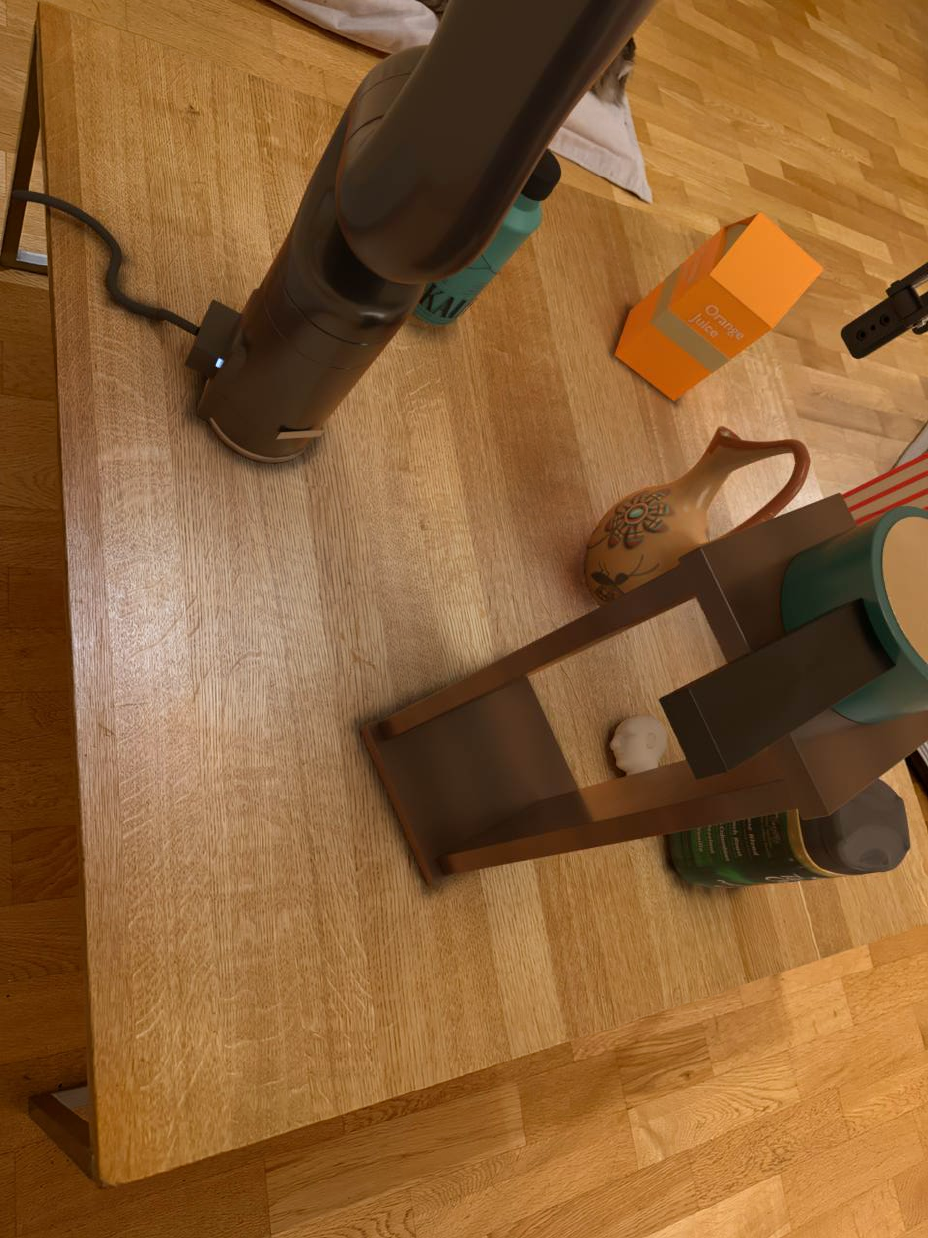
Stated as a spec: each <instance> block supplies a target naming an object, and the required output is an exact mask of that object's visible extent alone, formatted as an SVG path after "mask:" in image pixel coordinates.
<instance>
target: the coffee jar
mask: <svg viewBox="0 0 928 1238" xmlns="http://www.w3.org/2000/svg"><path fill="white" fill-rule="evenodd" d="M668 844H669V852H670V856H671V859H672V863H673V865H674V868H675V870H676V872H677V873H678V875H679V876H680V878H682V879H683V880H684V881H685V882H687V883H688V884H691V885H694V886H696V887H697V886H698V887H702V888H708V889H733V888H743V887H753V886H761V885H762V886H763V885H764V886H765V885H775V884H787V883H788V884H789V883H796V882H797V883H798V882H808V881H817V880H818V881H819V880H826V879H827V880H828V879H836V878H837V879H838V878H846V877H857V876H863V875H869V874H876V873H886V872H891V871H893V870H895V869H896V868H898V866H900V865H901V863H902V862H903V860H904V859H905V857H906V856H907V853H908V852H909V851H910V850H911V846H912V845H911V838H910V827H909V822H908V816H907V809H906V805H905V802H904V799H903V797H901V796H900V795H898V793H897V792H896V790H894V789H893V788H892V787H891V786H890V785H889V784H888V783H887V782H886V781H883V780H882V779H881V778H878V779H877V780H875V781H874V782H873V783H872V784H870V785H869V786H868V787H866V788H865V789H864V790H862V791H861V792H860V793H858V794H857V795H856V796H854V797H853V798H852V799H850V800H849V801H848V802H846V803H845V804H844V805H842V806H841V807H840V808H838V809H837V810H836V811H835V812H833V813H832V814H831V815H829V816H824V817H818V818H813V819H807V820H803V819H802V817H801V815H800V813H799V811H798V809H796V810H791V811H785V812H780V813H775V814H770V815H764V816H759V817H754V818H749V819H743V820H738V821H733V822H727V823H722V824H717V825H712V826H706V827H701V828H696V829H690V830H685V831H680V832H675V833H669V834H668Z"/></svg>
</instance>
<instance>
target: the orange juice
mask: <svg viewBox="0 0 928 1238" xmlns="http://www.w3.org/2000/svg"><path fill="white" fill-rule="evenodd" d="M824 270H825V268H824V267H823V266H821V265H820V263H818V262H817V261H816V260H815V259H814V258H812V257H811V255H810V254H808V252H806V251H805V250H804V249H803V248H802V247H800V246H799V245H798V244H797V243H796V242H795V241H794V240H793V239H792V238H790V237H789V236H788V234H786V233H785V232H784V231H783V230H782V229H780V228H779V227H778V226H777V225H776V224H775V223H774V222H772V220H770V219H769V218H768V217H767V216H766V215H765V214H763V212H761V211H759V212H758V213H756V214H753V215H751V216H748V217H745V218H743V219H741V220H737V221H735V222H733V223H730V224H729V225H726V226H725V225H724V226H721V228H720V229H719V230H717V232H715V233H714V234H713V235H712V236H711V237H710V238H709V239H708V240H706V242H704V244H702V245H701V246H700V247H699V248H698V249H697V250H695V252H693V253H692V254H691V255H690V256H689V257H687V258H686V259H685V260H684V261H683V262H681V264H679V265H678V266H677V267H676V268H675V269H673V271H671V272H670V273H669V274H668V275H667V276H666V277H665V278H664V279H663V280H662V281H661V282H660V283H659V284H658V285H657V286H655V287H654V289H653V290H651V291H650V292H649V293H648V294H647V295H645V297H643V299H641V300H640V301H639V302H638V303H637V304H635V305H634V306H633V308H631V309H630V310H629V312H628V315H627V319H626V321H625V324H624V326H623V330H622V332H621V335H620V338H619V341H618V344H617V347H616V349H615V352H614V356H615V357H617V359H619V360H620V361H621V362H623V363H624V364H625V365H627V367H629V368H630V369H632V370H633V371H634V372H635V373H637V374H638V375H640V377H642V378H643V379H645V380H646V381H647V382H648V383H650V384H651V385H652V386H653V387H655V388H656V389H657V390H658V391H660V392H661V393H662V394H664V395H665V396H666V397H667V398H669V399H670V400H672V401H673V402H675V401H677V399H679V398H681V397H682V396H683V395H685V394H686V393H688V392H689V391H690V390H692V389H693V388H695V386H696V385H698V384H699V383H701V382H702V381H704V380H705V379H706V378H708V377H709V376H710V375H712V374H714V373H715V372H717V371H719V370H720V369H721V368H723V367H724V366H725V365H727V364H728V363H729V362H730V361H731V360H732V359H733V358H735V357H736V356H738V355H739V354H741V353H742V352H743V351H744V350H746V349H747V348H748V347H750V346H751V345H752V344H754V343H755V342H756V341H758V340H759V339H761V338H762V337H763V336H765V335H766V334H768V333H769V332H770V331H772V330H773V329H774V328H775V327H776V325H777V324H778V323H779V322H780V321H781V320H782V318H783V317H784V316H785V315H786V314H787V313H788V311H789V310H790V309H791V308H792V307H793V306H794V305H795V304H796V302H797V301H798V300H799V299H800V297H802V295H803V294H804V293H805V292H806V290H808V288H809V287H810V286H811V285H812V283H814V282H815V280H816V279H817V278H818V276H819V275H820V274H821V273H822V272H823V271H824Z"/></svg>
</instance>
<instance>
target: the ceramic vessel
mask: <svg viewBox="0 0 928 1238" xmlns="http://www.w3.org/2000/svg"><path fill="white" fill-rule="evenodd" d="M786 454H792V455H793V460H794V464H793V465H794V466H793V469H792V472H791V474H790V477H789V479H788V481H787V482H786V484H785V485H784V486H783V487H782V488H781V489H780V491H778V493H777V494H776V495H775V496H773V497H772V498H771V499H770V500H769V501H768V502H767V503H766V504H764V505H763V506H762V507H760V509H759V510H757V511H756V512H755V513H754V514H752V515H751V516H750V517H748V518H747V519H746V520H743V522H741V523H740V524H738V525H737V526H735V527H734V528H732V529H731V530H729V531H726V532H725V533H724V534H721V535H720V536H717V537H716V538H714V539H711V527H710V523H709V519H708V515H709V510H710V507H711V505H712V504H713V503H712V502H713V501H714V499H715V497H716V495H717V494H718V492H719V491H720V489H721V488H722V487H723V485H724V484H725V482H726V481H727V480H728V478H729V477H731V474H732V473H733V472H735V471H737V470H739V469H741V468H744V467H746V466H748V465H751V464H752V465H753V464H755V463H757V462H759V461H763V460H765V459H769V458H773V457H776V456H780V455H786ZM811 463H812V460H811V456H810V452H809V449H808V448H807V446H806V444H804V442H803V441H801V440H799V439H795V438H786V439H778V440H768V441H759V440H757V441H756V440H745V439H742V438H741V436H739V435H738V434H737V433H735V432H734V431H732V430H731V429H730V428H727V427H726V426H723V425H719V426H718V427H717V429H716V430H715V432H714V434H713V436H712V438H711V440H710V442H709V444H708V446H707V447H706V449H705V451H704V452H703V453H702V455H701V457H700V458H699V460H698V461H697V462H696V463H695V464H694V466H692V467H691V468H690V469H689V470H688V471H687V472H686V473H684V474H683V475H682V476H680V477H678V478H677V479H675V480H673V481H670V482H667V483H664V484H663V483H662V484H656V485H650V486H646V487H642V488H639V489H637V490H635V491H631V492H630V493H629V494H627V495H625V496H624V497H621V499H619V500H618V501H617V502H615V503H614V504H613V505H612V506H611V507H609V508H608V510H607V511H606V512H605V513H604V514H603V515H602V516H601V518H600V519H599V520H598V522H597V523H596V525H595V527H594V528H593V530H592V532H591V534H590V537H589V539H588V540H587V544H586V547H585V551H584V557H583V577H584V578H583V579H584V582H585V586H586V588H587V591H588V593H589V595H590V597H591V599H592V600H593V601H594V603H596V604H597V606H598V607H600V606H602V605H604V604H606V603H608V602H610V601H612V600H614V599H616V598H618V597H619V596H621V595H623V594H625V593H627V592H629V591H631V590H633V589H635V588H637V587H639V586H640V585H642V584H644V583H646V582H648V581H650V580H652V579H654V578H656V577H658V576H660V575H661V574H663V573H665V572H667V571H669V570H671V569H673V568H675V567H677V566H679V565H680V563H679V561H678V558H679V557H681V556H683V555H685V554H686V553H688V552H690V551H692V550H694V549H696V548H698V547H700V546H702V545H705V544H708V543H710V542H713V541H715V540H718V539H720V538H723V537H726V536H728V535H731V534H733V533H736V532H739V531H741V530H744V529H746V528H749V527H752V526H754V525H757V524H759V523H762V522H764V521H767V520H770V519H772V518H775V517H777V516H778V515H779V513H780V512H782V511H783V510H784V509H785V508H786V507H787V506H788V505H789V504H790V503H791V502H792V501H793V500H794V499H795V498H796V496H797V495H798V494H799V493H800V491H801V490H802V489H803V486H804V485H805V483H806V481H807V477H808V474H809V471H810V468H811V467H810V466H811Z"/></svg>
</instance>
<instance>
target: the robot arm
mask: <svg viewBox="0 0 928 1238" xmlns="http://www.w3.org/2000/svg"><path fill="white" fill-rule="evenodd" d="M660 1H661V0H448V1H447V3H446V6H445V8H444V11H443V14H442V16H441V19H440V21H439V23H438V25H437V27H436V29H435V30H434V34H433V35H432V37H431V40H430V42H429V43H428V44H418V45H413V46H408V47H405V48H403V49H399V50H397V51H395V52H393V53H391V54H389V55H388V56H386V57H385V58H383V59H382V60H380V62H378V63H376V65H375V66H374V67H372V68H371V69H370V70H369V71H368V73H367V74H366V75H365V76H364V78H363V79H362V81H361V82H360V83H359V85H358V87H357V88H356V90H355V91H354V93H353V95H352V96H351V98H350V100H349V102H348V104H347V106H346V108H345V110H344V112H343V114H342V116H341V117H340V119H339V121H338V123H337V126H336V127H335V130H334V132H333V133H332V135H331V138H330V139H329V141H328V144H327V145H326V147H325V149H324V151H323V153H322V155H321V157H320V160H319V161H318V164H317V165H316V168H315V169H314V171H313V172H312V175H311V177H310V179H309V181H308V184H307V186H306V188H305V190H304V193H303V195H302V198H301V200H300V203H299V206H298V208H297V210H296V214H295V217H294V218H293V222H292V224H291V226H290V229H289V230H288V233H287V235H286V237H285V239H284V240H283V242H282V244H281V246H280V248H279V249H278V251H277V252H276V255H275V257H274V259H273V260H272V263H271V264H270V267H269V268H268V269H267V272H266V273H265V276H264V277H263V279H262V280H261V283H260V284H259V287H257V288H254V289H253V290H252V291H251V294H250V295H249V297H248V299H247V301H246V303H245V305H244V307H243V308H242V310H241V312H239V311H237V310H235V309H233V308H231V307H230V306H227V305H225V304H223V303H222V302H220V301H218V300H216V299H215V298H214V299H212V300H211V301H210V304H209V305H208V307H207V309H206V312H205V314H204V316H203V318H202V320H201V323H200V325H197V324H195V323H193V322H191V321H189V320H188V319H186V318H184V317H183V316H180V315H179V314H176V313H175V312H173V311H171V310H168V309H166V308H156V307H153V306H149V305H146V304H143V303H140V302H137V301H136V300H133V299H132V298H130V297H128V296H126V295H125V294H124V293H123V292H122V291H121V290H120V288H119V285H118V275H119V272H120V269H121V266H122V263H123V262H122V261H123V252H122V249H121V246H120V244H119V243H118V241H117V240H116V238H115V237H114V236H113V235H112V233H111V232H110V231H109V230H108V229H107V228H106V227H105V226H104V225H103V224H102V223H101V222H100V221H98V220H97V219H96V218H95V217H93V216H92V215H90V214H89V213H88V212H86V211H84V210H83V209H81V208H79V207H77V206H76V205H75V204H72V203H70V202H68V201H65V200H63V199H61V198H58V197H55V196H53V195H49V194H46V193H43V192H38V191H34V190H28V189H15V190H13V191H11V196H12V197H13V199H15V200H17V201H20V202H27V203H35V204H39V205H44V206H47V207H49V208H53V209H56V210H59V211H61V212H63V213H65V214H67V215H69V216H71V217H73V218H75V219H77V220H78V221H80V222H82V223H83V224H84V225H86V226H87V227H88V228H90V229H91V230H92V231H93V232H95V234H97V235H98V236H99V237H100V238H101V240H103V241H104V242H105V244H106V245H107V247H108V249H109V250H110V261H109V265H108V268H107V270H106V275H105V284H106V288H107V290H108V292H109V294H110V296H111V297H112V298H113V299H114V300H115V302H117V303H118V304H120V306H122V307H124V308H126V309H127V310H128V311H129V310H130V311H131V312H133V313H136V314H140V315H143V316H146V317H149V318H152V319H155V320H158V321H161V322H168V323H169V324H171V325H173V326H175V327H177V328H179V329H181V330H183V331H185V332H187V333H188V334H190V335H192V336H193V337H194V340H193V342H192V345H191V347H190V349H189V352H188V355H187V357H186V359H185V361H184V365H183V366H184V367H186V368H188V369H190V370H192V371H194V372H196V373H198V374H200V375H202V376H204V377H207V380H205V381H206V382H205V384H204V387H203V391H202V392H203V393H202V395H201V398H200V400H199V402H198V405H197V408H196V410H195V415H196V416H198V417H199V418H200V419H203V420H205V421H207V422H208V423H209V425H210V427H211V428H212V430H213V431H214V432H215V434H216V436H217V437H218V438H219V439H220V440H221V441H222V442H223V443H224V444H225V445H227V446H228V447H229V448H230V449H231V450H233V451H234V452H236V453H238V454H239V455H241V456H243V457H245V458H247V459H250V460H253V461H257V462H261V463H268V464H269V463H272V464H274V463H285V462H287V461H288V462H289V461H291V460H293V459H295V458H297V457H299V456H300V455H301V454H303V453H304V452H305V451H306V450H307V449H308V448H309V447H310V445H311V444H312V442H313V441H314V439H315V438H317V437H321V436H322V435H323V434H324V432H325V431H326V429H322V428H323V427H324V425H325V424H326V423H327V422H328V420H329V419H330V418H331V417H332V415H333V414H334V413H335V411H336V410H337V409H338V407H339V406H340V405H341V404H342V403H343V401H344V400H345V399H346V397H347V396H348V395H349V394H350V393H351V391H352V390H353V389H354V387H356V386H357V384H358V382H359V381H361V379H362V377H363V376H364V375H365V374H366V372H367V371H368V370H369V369H370V368H371V366H372V365H373V364H374V362H375V361H377V359H378V357H379V356H380V355H381V354H382V352H383V351H384V350H385V349H386V347H387V346H388V345H389V344H390V342H391V341H392V340H393V338H395V336H396V335H397V333H398V332H399V331H400V329H401V328H402V327H403V326H404V324H405V323H406V322H407V320H408V319H409V318H410V317H411V315H412V314H414V313H413V311H414V310H415V308H416V306H417V304H418V302H419V300H420V298H421V296H422V293H423V291H424V288H425V285H426V283H431V282H435V281H440V280H442V279H445V278H447V277H450V276H452V275H455V274H456V273H458V272H459V271H461V270H463V269H464V268H466V267H468V266H469V265H470V264H471V263H473V262H474V261H475V260H476V259H477V258H478V257H479V256H480V255H481V254H482V253H483V252H484V251H485V249H486V248H487V247H488V246H489V244H490V243H491V241H492V240H493V238H494V236H495V235H496V233H497V232H498V230H499V228H500V227H501V225H502V223H503V221H504V220H505V218H506V216H507V215H508V213H509V211H510V209H511V208H512V206H513V204H514V202H515V201H516V199H517V197H518V196H519V194H520V192H521V191H522V189H523V187H524V185H525V184H526V182H527V180H528V179H529V177H530V175H531V174H532V172H533V170H534V169H535V167H536V165H537V164H538V162H539V160H540V159H541V157H542V155H543V154H544V152H545V150H546V149H548V147H549V146H550V144H551V143H552V141H553V139H554V138H555V136H556V135H557V133H558V132H559V130H560V129H561V128H562V126H563V125H564V124H565V122H566V120H567V119H568V118H569V116H570V115H571V113H572V112H573V111H574V109H576V107H577V105H578V104H579V103H580V102H581V101H582V100H583V98H584V96H585V95H586V94H587V93H588V92H589V90H590V89H591V88H592V87H593V86H594V84H595V83H596V82H597V80H598V79H600V77H601V76H602V75H603V73H604V72H605V71H606V70H607V68H608V67H610V65H611V64H612V62H613V61H614V60H615V59H616V58H617V56H618V55H619V54H620V52H621V51H622V50H623V49H624V47H625V46H626V45H627V43H628V42H629V41H630V40H631V38H632V37H633V36H634V35H635V34H636V32H637V31H638V29H639V28H640V27H641V26H642V24H644V22H645V21H646V19H647V18H648V16H649V15H650V14H651V13H652V12H653V10H654V9H655V8H656V6H657V5H658V4H659V3H660ZM926 283H928V261H927V262H925V263H924V264H922V265H921V266H919V267H918V268H916V269H915V270H913V271H912V272H910V273H909V274H907V275H905V276H904V277H903V278H901V279H897V280H895V281H893V282H891V284H890V285H889V287H887V288H886V289H885V293H886V296H887V297H886V298H885V299H884V300H882V301H880V302H878V303H877V304H875V305H874V306H873V307H872V308H869V309H868V310H867V311H865V312H864V313H862V314H861V315H860V316H857V317H856V318H855V319H853V320H852V321H851V322H849V323H847V324H846V325H844V326H843V327H842V328H841V330H840V337H841V339H842V341H843V343H844V346H845V347H846V349H847V350H848V353H849V354H850V356H851V357H852V358H853V359H855V360H861V359H863V358H866V357H868V356H869V355H871V354H873V353H874V352H876V351H878V350H880V349H881V348H883V347H884V346H886V345H888V344H889V343H890V342H892V341H894V340H896V339H897V338H899V337H900V336H902V335H904V334H906V333H907V332H908V331H912V333H913V334H914V335H917V336H920V335H923V334H926V333H928V290H927V291H926V292H923V293H922V294H921V295H919V293H918V291H917V288H919V287H921V286H923V285H924V284H926Z"/></svg>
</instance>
